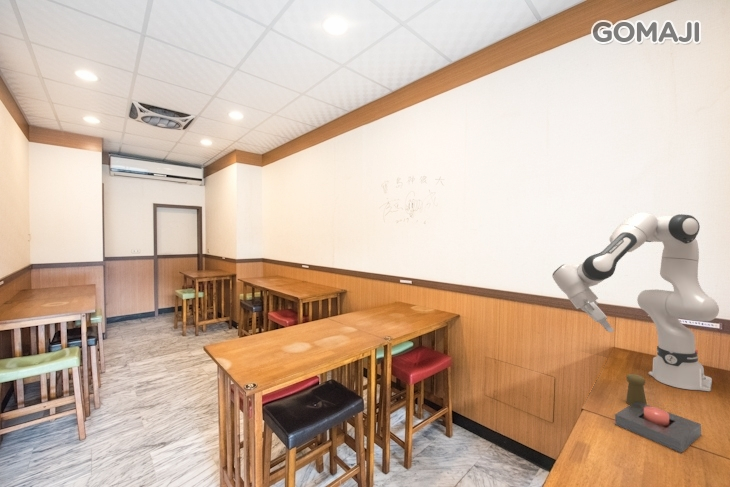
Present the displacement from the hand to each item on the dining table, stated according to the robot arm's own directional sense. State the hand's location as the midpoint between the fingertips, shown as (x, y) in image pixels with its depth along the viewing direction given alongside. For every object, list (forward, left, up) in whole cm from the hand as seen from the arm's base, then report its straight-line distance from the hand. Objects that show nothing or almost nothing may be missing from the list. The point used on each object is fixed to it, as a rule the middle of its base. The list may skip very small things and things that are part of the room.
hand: (610, 331), depth 117 cm
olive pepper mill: (-2, +6, -27) cm, 28 cm away
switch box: (+11, +16, -27) cm, 33 cm away
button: (+11, +16, -25) cm, 31 cm away
